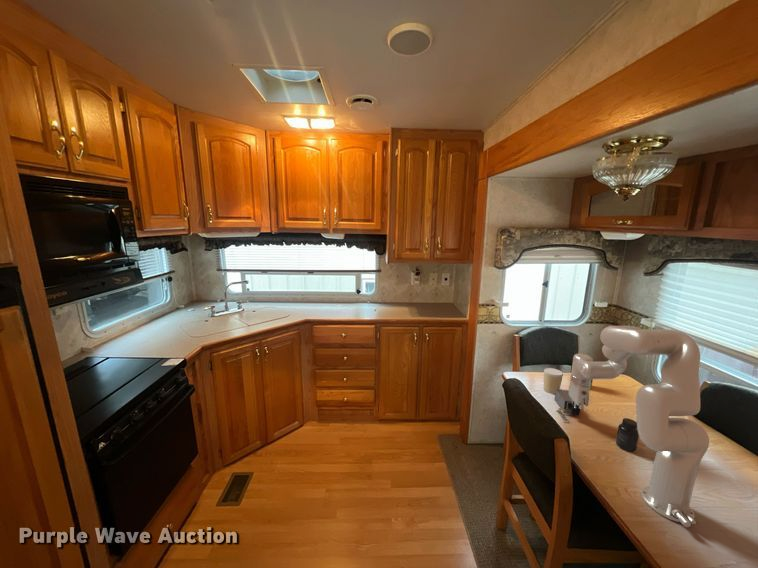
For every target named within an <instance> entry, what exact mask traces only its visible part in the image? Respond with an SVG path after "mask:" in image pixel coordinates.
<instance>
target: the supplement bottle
mask: <svg viewBox="0 0 758 568" xmlns="http://www.w3.org/2000/svg"><path fill="white" fill-rule="evenodd" d="M639 439H640V436H639V434H638V429H637V421H635V420H633V419H631V418H628V417H624V418H623V419H622V422H621V423H619V424H618V428H617V433H616V438H615V445H616V446H617V447H619V448H620V449H622V450H623V451H626V452H630V453H634V452H637V449H638V443H639Z"/></svg>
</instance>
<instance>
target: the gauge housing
mask: <svg viewBox="0 0 758 568" xmlns="http://www.w3.org/2000/svg"><path fill="white" fill-rule="evenodd" d="M568 393H569V389H568V390H567V389H560V390H559V389H556V392H555V394H554V401H555V403H556V404H557V406H558V408H562V409H566V407H567V402H572V400H571V398H570V396H569V394H568ZM555 412H556V414H557V415H558V417H559V418H560V419H561V421H562V422H563V423H567V424H568V423H569V420H568V418H567V417H566V415H565V414H564V413H566V411H564V410H559V409H557V410H555Z"/></svg>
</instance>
